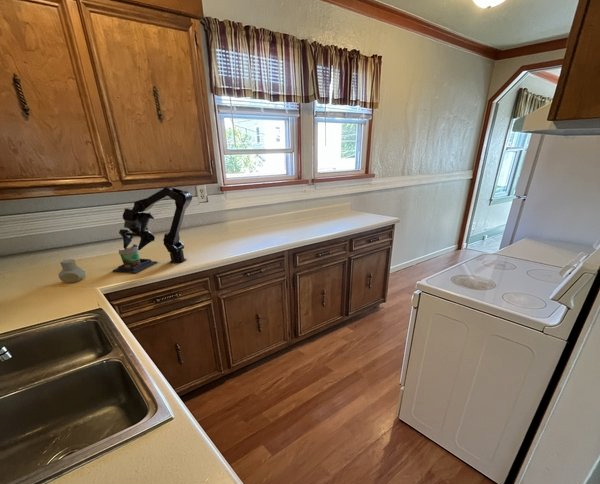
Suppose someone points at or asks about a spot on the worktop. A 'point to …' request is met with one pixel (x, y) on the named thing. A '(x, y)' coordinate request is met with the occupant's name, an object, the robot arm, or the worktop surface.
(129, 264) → the food container
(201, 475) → the worktop surface
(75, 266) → the air freshener
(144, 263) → the pad
